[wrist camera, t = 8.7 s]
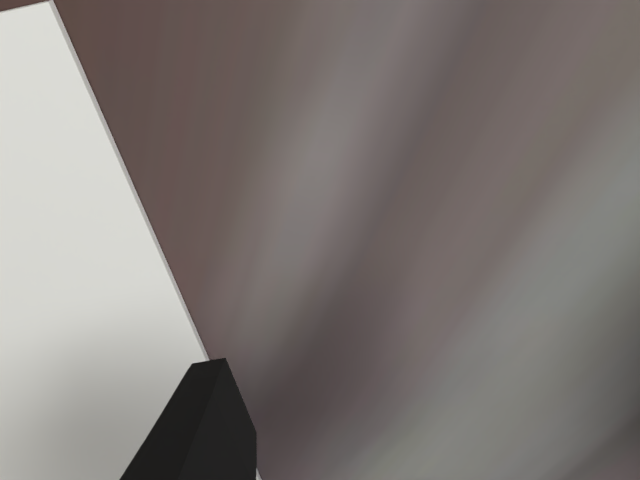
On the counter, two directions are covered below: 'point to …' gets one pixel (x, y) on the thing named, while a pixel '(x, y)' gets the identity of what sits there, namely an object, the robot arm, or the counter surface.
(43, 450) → the t mat
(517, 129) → the counter surface
